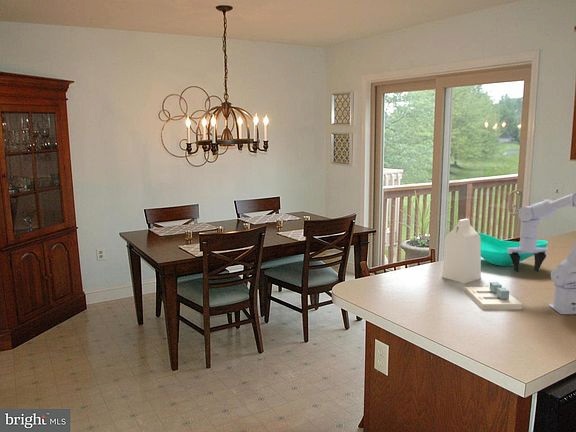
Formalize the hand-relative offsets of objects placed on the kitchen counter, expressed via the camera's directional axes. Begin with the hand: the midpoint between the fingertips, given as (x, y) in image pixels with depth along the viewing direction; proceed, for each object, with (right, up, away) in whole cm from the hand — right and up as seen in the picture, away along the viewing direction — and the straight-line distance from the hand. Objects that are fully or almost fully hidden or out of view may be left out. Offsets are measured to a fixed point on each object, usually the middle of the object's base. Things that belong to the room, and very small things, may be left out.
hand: (526, 271), depth 190 cm
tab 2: (-13, -9, -8) cm, 17 cm away
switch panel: (-15, -11, -4) cm, 19 cm away
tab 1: (-12, -8, -1) cm, 15 cm away
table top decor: (+10, -2, +47) cm, 48 cm away
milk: (-16, -6, +26) cm, 31 cm away
